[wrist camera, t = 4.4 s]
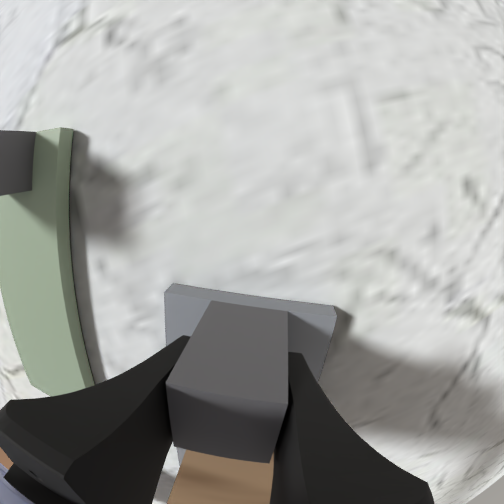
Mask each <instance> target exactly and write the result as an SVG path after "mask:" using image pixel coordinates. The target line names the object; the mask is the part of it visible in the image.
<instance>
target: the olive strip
mask: <svg viewBox="0 0 504 504" xmlns="http://www.w3.org/2000/svg"><path fill="white" fill-rule="evenodd" d="M72 137H73V129H69V128H61V127H60V128H55V129H49V130H44V131H39V132H26V131H2V130H0V288H1V293H2V297H3V302H4V306H5V310H6V314H7V317H8V321H9V325H10V328H11V331H12V335H13V338H14V341H15V344H16V347H17V350H18V353H19V355H20V358H21V361H22V364H23V366H24V369H25V371H26V374H27V376H28V379H29V381H30V383H31V385H32V386H34V387H35V388H37V389H39V390H41V391H42V392H44V393H46V394H47V395H49V396H57V395H62V394H67V393H71V392H75V391H78V390H81V389H84V388H88V387H91V386H94V385H95V384H94V381H93V377H92V374H91V370H90V366H89V362H88V358H87V354H86V350H85V346H84V341H83V336H82V332H81V327H80V321H79V316H78V310H77V304H76V297H75V290H74V282H73V273H72V263H71V251H70V235H69V176H70V159H71V147H72Z"/></svg>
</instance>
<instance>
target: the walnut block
mask: <svg viewBox="0 0 504 504" xmlns="http://www.w3.org/2000/svg"><path fill="white" fill-rule="evenodd" d="M273 467H274V454H272V457H271V460H270V463H269V464H268V463H259V462H251V461H243V460H236V459H230V458H224V457H219V456H214V455H209V454H204V453H199V452H195V451H191V450H186V452H185V454H184V457H183V460H182V463H181V466H180V468H179V471H178V474H177V477H176V479H175V482H174V485H173V488H172V491H171V493H170V496H169V499H168V502H167V504H270V497H271V489H272V480H273Z"/></svg>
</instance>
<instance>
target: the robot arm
mask: <svg viewBox="0 0 504 504" xmlns="http://www.w3.org/2000/svg"><path fill="white" fill-rule="evenodd" d="M190 337H191V336H186V335H182V336H181V337H179V338H178V339H176V340H175V341H173V342H172V343H170V344H169V345H168V346H166V347H165V348H163V349H162V350H160V351H159V352H157V353H156V354H154V355H153V356H151V357H150V358H148V359H147V360H145V361H144V362H142V363H140V364H138V365H137V366H135V367H133V368H131V369H130V370H128V371H126V372H124V373H122V374H120V375H118V376H116V377H114V378H112V379H109V380H107V381H104V382H102V383H99V384H97V385H94V386H91V387H88V388H84V389H81V390H78V391H75V392H71V393H67V394H62V395H57V396H51V397H45V398H36V399H21V400H10V401H9V402H8V403H7V404H6V405H5V406H4V407H3V408H2V409H1V410H0V447H1V448H2V449H3V451H4V452H5V453H6V454H7V456H8V457H9V458H10V459H11V461H12V462H13V463H14V464H13V465H12V466H11V468H10V469H9V470H8V469H7V468H6V467H4V466H3V465H2V464H1V463H0V504H152V501H153V498H154V494H155V491H156V487H157V484H158V481H159V478H160V474H161V471H162V468H163V465H164V462H165V459H166V456H167V453H168V451H169V449H170V446H171V444H172V442H173V437H172V430H171V423H170V416H169V408H168V400H167V391H166V381H167V379H168V377H169V375H170V373H171V372H172V370H173V368H174V366H175V364H176V363H177V361H178V359H179V357H180V355H181V354H182V352H183V350H184V348H185V346H186V345H187V343H188V341H189V339H190ZM273 454H274V467H273V480H272V489H271V497H270V504H434V500H433V496H432V493H431V490H430V488H429V485H428V483H427V482H425V481H423V480H421V479H420V478H418V477H416V476H414V475H412V474H410V473H408V472H406V471H405V470H403V469H401V468H399V467H398V466H396V465H395V464H393V463H392V462H391V461H389V460H388V459H386V458H385V457H383V456H382V455H381V454H379V453H378V452H377V451H376V450H374V449H373V448H372V447H371V446H370V445H369V444H367V443H366V442H365V441H364V440H363V439H362V438H361V437H360V436H359V435H357V434H356V433H355V432H354V431H353V429H352V428H351V427H350V426H349V425H348V424H347V423H346V422H345V421H344V419H343V418H342V417H341V416H340V414H339V413H338V412H337V411H336V409H335V408H334V407H333V405H332V404H331V403H330V401H329V400H328V398H327V397H326V395H325V394H324V392H323V391H322V389H321V387H320V386H319V384H318V383H317V381H316V379H315V377H314V376H313V374H312V372H311V370H310V368H309V366H308V364H307V362H306V360H305V358H304V356H303V355H302V353H296V352H288V405H287V409H286V412H285V416H284V419H283V423H282V426H281V429H280V432H279V436H278V439H277V442H276V445H275V448H274V451H273Z"/></svg>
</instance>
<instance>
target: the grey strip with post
mask: <svg viewBox="0 0 504 504" xmlns="http://www.w3.org/2000/svg"><path fill="white" fill-rule="evenodd" d="M164 302H165V332H166V346H168V345H169V344H170V343H172V342H173V341H175V340H176V339H178V338H179V337H181V336H182V335H186V336H191V337H190V339H189V341H188V343H187V345H186V346H185V348H184V350H183V352H182V354H181V355H180V357H179V359H178V361H177V363H176V364H175V366H174V368H173V370H172V372H171V373H170V375H169V377H168V379H167V381H166V391H167V400H168V408H169V416H170V423H171V430H172V437H173V443H174V446H175V447H177V453H178V459H179V465H180V466H181V463H182V460H183V457H184V454H185V452H186V450H191V451H195V452H199V453H204V454H209V455H214V456H219V457H224V458H230V459H236V460H243V461H251V462H259V463H268V464H269V463H270V460H271V457H272V454H273V451H274V448H275V445H276V442H277V439H278V436H279V432H280V429H281V426H282V423H283V419H284V416H285V412H286V409H287V405H288V352H296V353H302V355H303V356H304V358H305V360H306V362H307V364H308V366H309V368H310V370H311V372H312V374H313V376H314V377H315V379H316V381H317V383H318V381H319V378H320V375H321V371H322V368H323V365H324V362H325V358H326V355H327V352H328V348H329V345H330V341H331V338H332V334H333V330H334V327H335V323H336V319H337V315H336V312H335V309H334V306H331V305H322V304H313V303H305V302H296V301H288V300H281V299H273V298H265V297H258V296H251V295H244V294H237V293H230V292H224V291H217V290H211V289H204V288H198V287H192V286H186V285H180V284H174V283H173V284H172V285H171V286H170V287H169V288H168V289H167V290H166V291H165V292H164Z"/></svg>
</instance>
